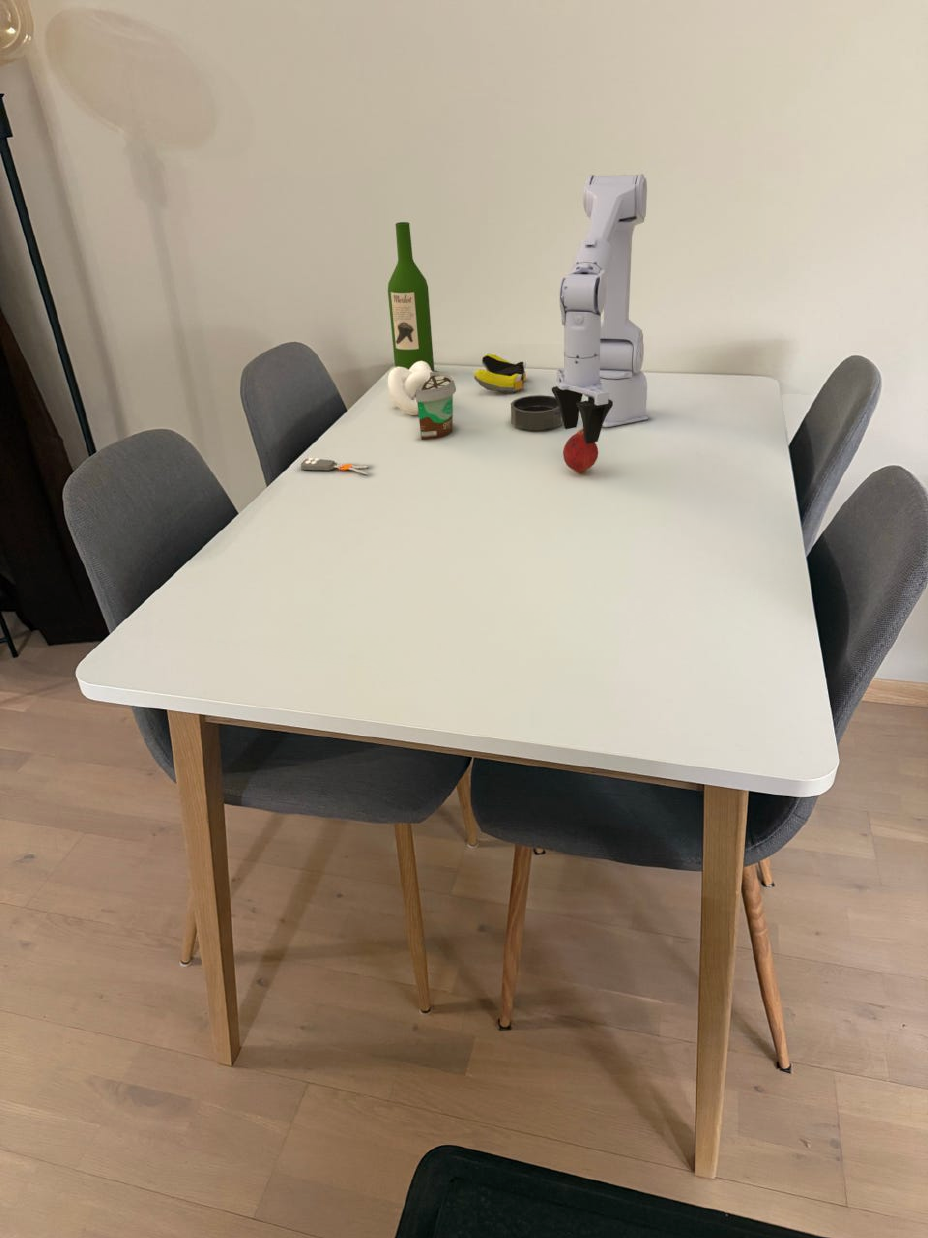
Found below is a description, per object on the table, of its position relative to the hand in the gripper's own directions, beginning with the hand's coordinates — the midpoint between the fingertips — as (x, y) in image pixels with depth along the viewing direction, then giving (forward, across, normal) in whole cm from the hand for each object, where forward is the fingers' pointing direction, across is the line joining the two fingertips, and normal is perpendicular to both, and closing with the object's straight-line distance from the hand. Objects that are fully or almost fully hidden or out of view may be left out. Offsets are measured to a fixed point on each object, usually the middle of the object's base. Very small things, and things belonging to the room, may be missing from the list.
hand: (580, 434), depth 151 cm
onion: (+7, 0, 0) cm, 7 cm away
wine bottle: (+7, -69, -7) cm, 70 cm away
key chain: (+7, -22, -37) cm, 44 cm away
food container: (+7, -31, -14) cm, 35 cm away
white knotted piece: (+7, -47, -14) cm, 50 cm away
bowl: (+7, -26, +4) cm, 27 cm away
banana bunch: (+7, -51, +7) cm, 52 cm away
